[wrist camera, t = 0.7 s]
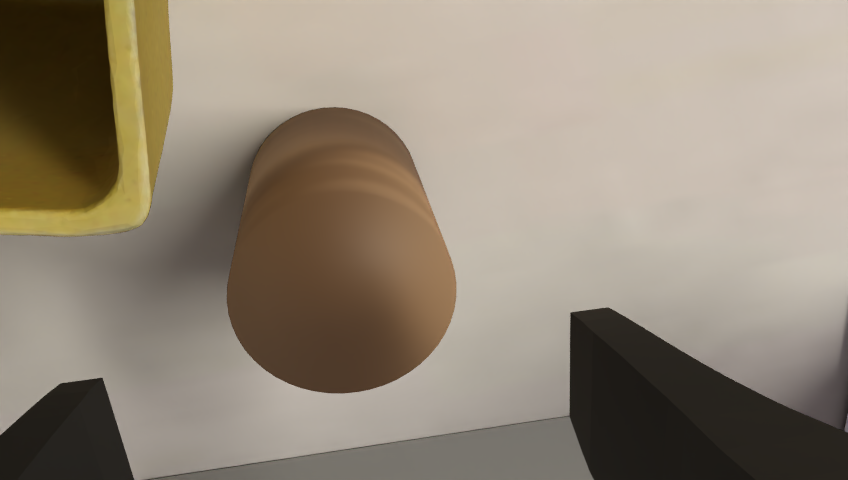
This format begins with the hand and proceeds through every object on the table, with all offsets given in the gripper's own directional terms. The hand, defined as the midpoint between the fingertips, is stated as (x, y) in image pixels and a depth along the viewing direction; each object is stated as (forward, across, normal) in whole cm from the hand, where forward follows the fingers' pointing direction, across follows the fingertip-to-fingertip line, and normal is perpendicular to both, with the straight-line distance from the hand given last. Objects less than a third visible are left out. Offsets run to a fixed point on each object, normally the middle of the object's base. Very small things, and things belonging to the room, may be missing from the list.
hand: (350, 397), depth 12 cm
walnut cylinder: (+9, 0, 0) cm, 9 cm away
